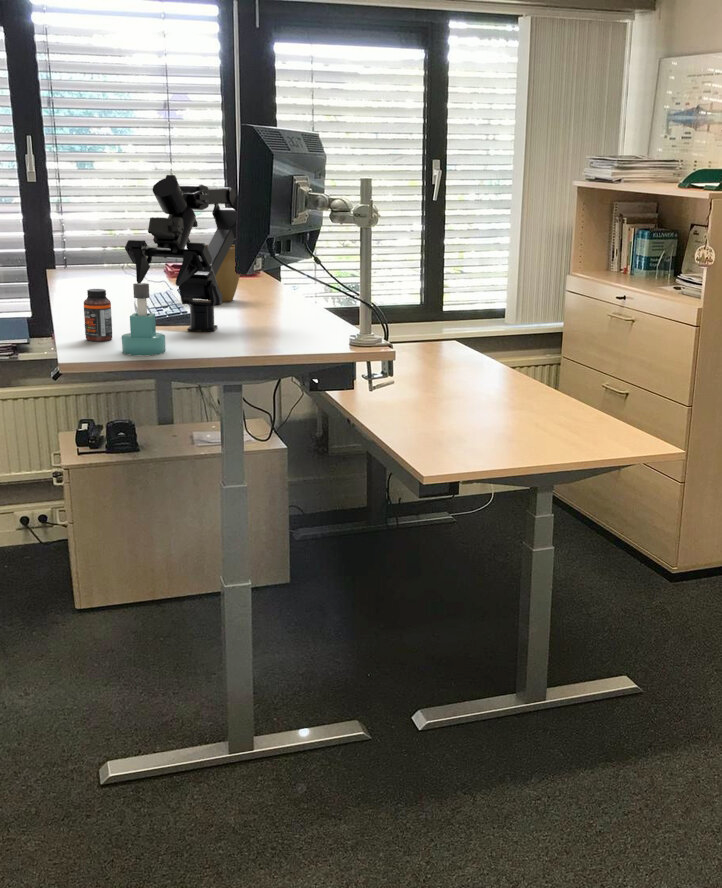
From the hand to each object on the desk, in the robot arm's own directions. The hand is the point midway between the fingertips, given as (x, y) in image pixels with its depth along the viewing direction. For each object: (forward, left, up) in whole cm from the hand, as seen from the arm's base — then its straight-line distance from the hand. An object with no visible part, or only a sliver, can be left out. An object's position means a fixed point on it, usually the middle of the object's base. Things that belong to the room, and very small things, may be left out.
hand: (157, 283), depth 200 cm
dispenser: (+7, -2, -14) cm, 16 cm away
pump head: (+7, -2, -7) cm, 11 cm away
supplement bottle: (-6, -15, -14) cm, 21 cm away
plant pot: (-74, +3, -14) cm, 75 cm away
